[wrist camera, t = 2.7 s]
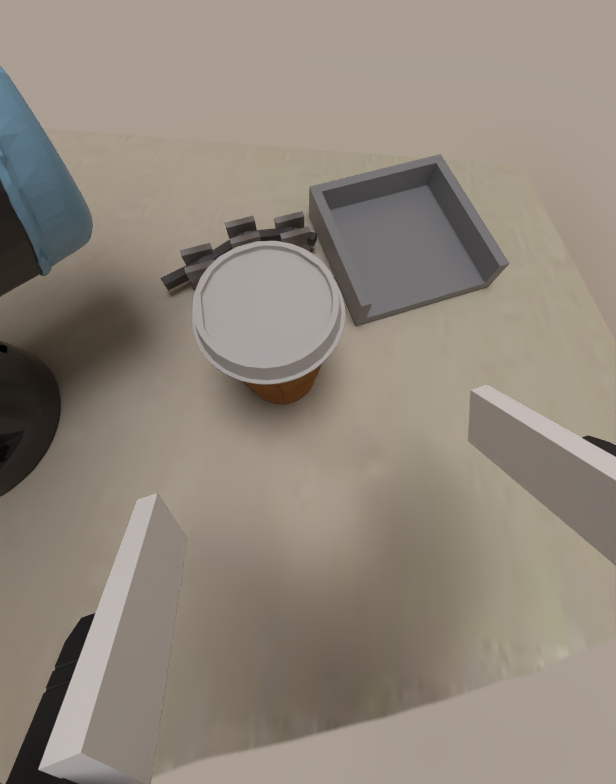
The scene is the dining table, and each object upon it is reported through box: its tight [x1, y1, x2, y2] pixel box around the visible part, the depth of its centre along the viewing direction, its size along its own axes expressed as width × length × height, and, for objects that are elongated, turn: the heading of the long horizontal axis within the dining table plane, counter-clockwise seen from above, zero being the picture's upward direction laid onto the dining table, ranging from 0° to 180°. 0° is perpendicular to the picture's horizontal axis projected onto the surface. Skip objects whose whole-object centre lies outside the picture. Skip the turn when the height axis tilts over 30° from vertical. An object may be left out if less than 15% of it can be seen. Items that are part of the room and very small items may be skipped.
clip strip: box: [161, 211, 317, 290], centre depth 32 cm, size 16×5×3 cm, turn 108°
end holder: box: [309, 155, 509, 326], centre depth 32 cm, size 15×15×4 cm
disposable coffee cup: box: [192, 241, 345, 404], centre depth 23 cm, size 10×10×12 cm
